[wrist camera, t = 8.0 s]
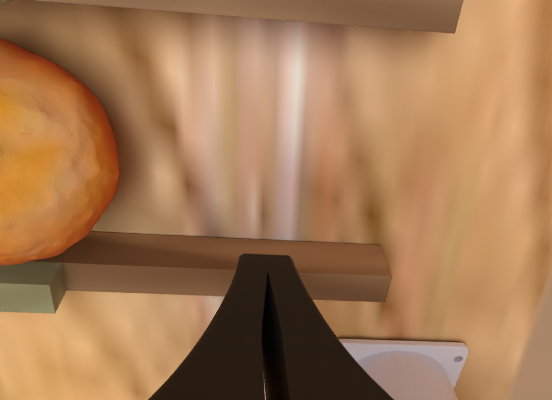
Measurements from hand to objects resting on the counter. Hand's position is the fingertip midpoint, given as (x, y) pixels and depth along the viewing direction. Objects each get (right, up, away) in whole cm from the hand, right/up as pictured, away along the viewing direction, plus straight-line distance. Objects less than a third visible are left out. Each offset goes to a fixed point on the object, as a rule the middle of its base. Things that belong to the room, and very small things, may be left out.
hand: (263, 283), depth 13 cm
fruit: (-10, +6, +8) cm, 14 cm away
